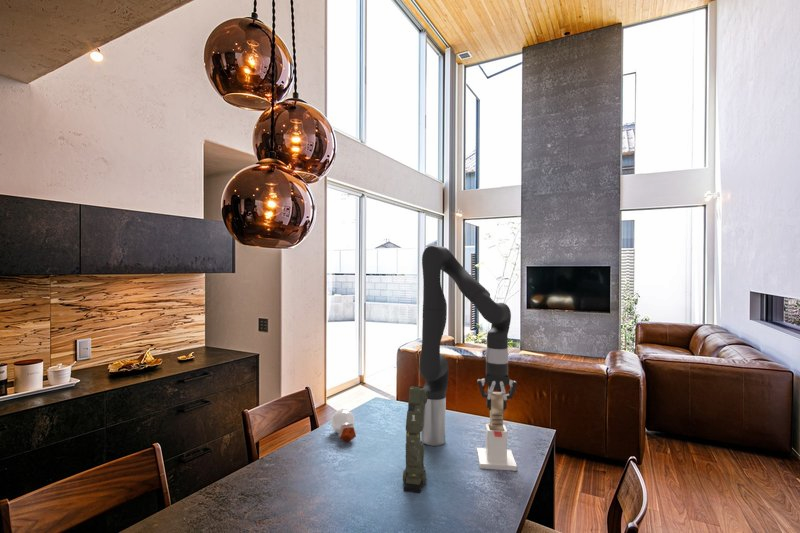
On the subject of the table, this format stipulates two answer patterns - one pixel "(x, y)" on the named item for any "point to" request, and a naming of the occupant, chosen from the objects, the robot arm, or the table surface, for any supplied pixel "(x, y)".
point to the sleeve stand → (496, 451)
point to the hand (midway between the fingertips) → (496, 409)
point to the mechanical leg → (415, 441)
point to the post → (496, 411)
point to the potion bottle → (344, 425)
